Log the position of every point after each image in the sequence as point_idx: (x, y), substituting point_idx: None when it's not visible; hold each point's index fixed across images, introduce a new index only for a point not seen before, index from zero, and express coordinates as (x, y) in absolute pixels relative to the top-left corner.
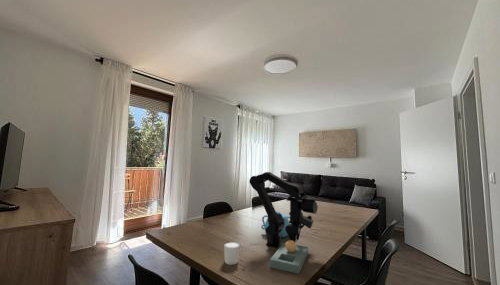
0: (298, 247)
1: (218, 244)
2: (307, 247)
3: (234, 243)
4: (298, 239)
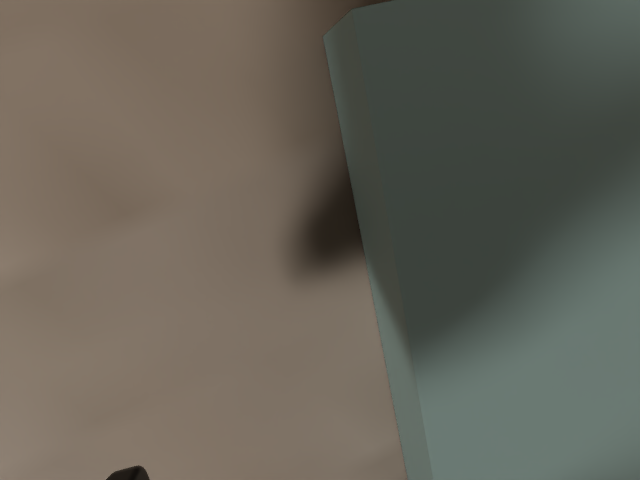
0: (565, 229)
1: None
2: (410, 4)
3: None
4: (141, 471)
